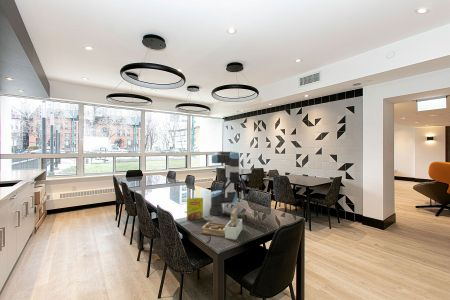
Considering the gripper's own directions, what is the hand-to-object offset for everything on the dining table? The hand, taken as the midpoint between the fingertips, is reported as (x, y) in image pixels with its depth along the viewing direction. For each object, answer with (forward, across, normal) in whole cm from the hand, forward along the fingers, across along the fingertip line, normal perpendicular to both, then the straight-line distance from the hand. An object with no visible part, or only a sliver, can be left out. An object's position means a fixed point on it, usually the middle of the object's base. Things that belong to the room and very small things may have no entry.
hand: (234, 198), depth 171 cm
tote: (+29, 0, 0) cm, 29 cm away
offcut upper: (+27, -16, -1) cm, 31 cm away
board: (+28, 0, 0) cm, 28 cm away
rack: (+29, -16, 0) cm, 33 cm away
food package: (+29, -45, +21) cm, 57 cm away
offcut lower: (+29, -16, -2) cm, 33 cm away
